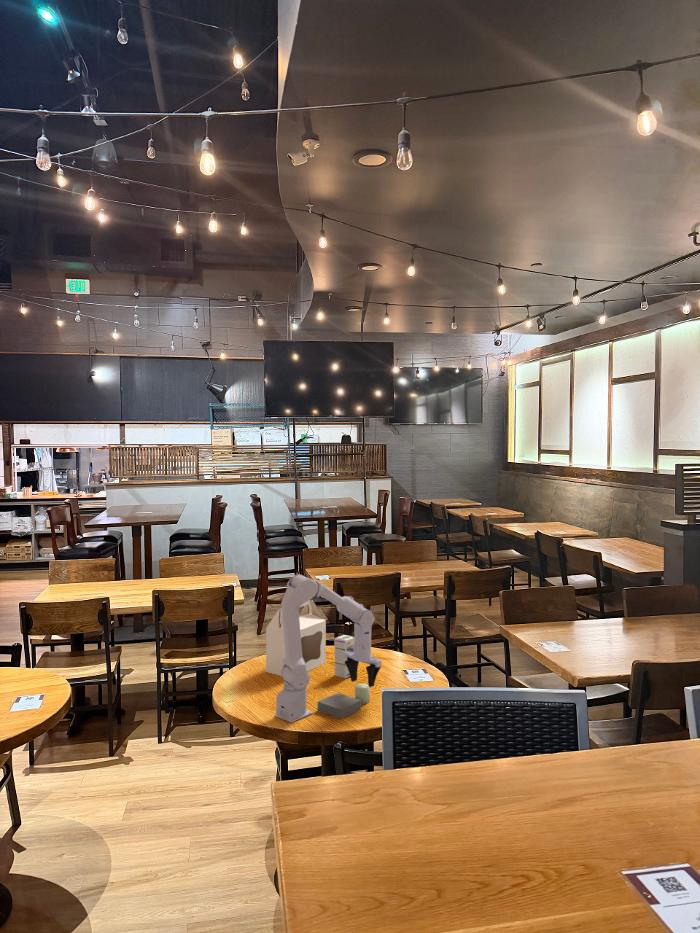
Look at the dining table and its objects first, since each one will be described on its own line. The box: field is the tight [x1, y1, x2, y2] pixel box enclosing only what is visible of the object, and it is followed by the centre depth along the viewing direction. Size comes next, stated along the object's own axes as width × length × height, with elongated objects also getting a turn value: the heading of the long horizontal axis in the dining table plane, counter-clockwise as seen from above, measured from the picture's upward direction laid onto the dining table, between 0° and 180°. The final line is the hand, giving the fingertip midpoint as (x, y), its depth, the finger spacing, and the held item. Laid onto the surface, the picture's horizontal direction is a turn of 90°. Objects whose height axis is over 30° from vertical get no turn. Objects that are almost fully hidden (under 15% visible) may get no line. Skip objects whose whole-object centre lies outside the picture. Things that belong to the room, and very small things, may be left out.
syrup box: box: [333, 634, 354, 679], centre depth 234 cm, size 6×6×14 cm
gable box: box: [265, 599, 327, 677], centre depth 242 cm, size 22×13×28 cm, turn 148°
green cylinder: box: [354, 683, 371, 705], centre depth 209 cm, size 5×5×5 cm
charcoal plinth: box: [317, 692, 362, 720], centre depth 201 cm, size 10×10×3 cm
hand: (362, 683), depth 209 cm, fingers open, 7 cm apart
